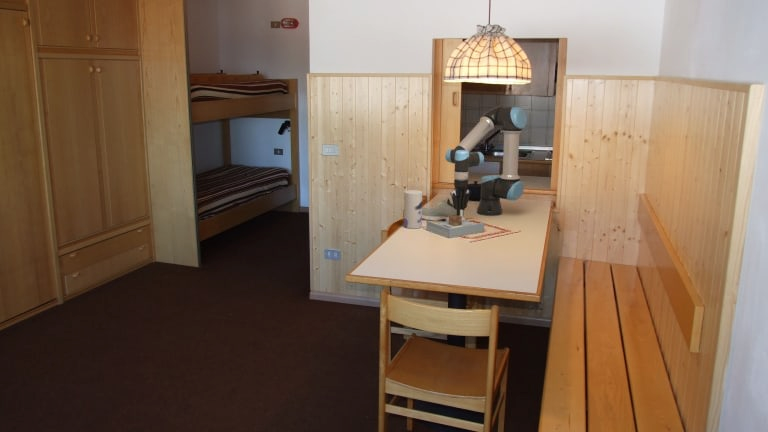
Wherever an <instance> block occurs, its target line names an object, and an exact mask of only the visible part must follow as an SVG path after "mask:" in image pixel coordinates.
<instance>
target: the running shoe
mask: <svg viewBox="0 0 768 432" xmlns="http://www.w3.org/2000/svg"><path fill="white" fill-rule="evenodd" d="M450 215H457V210H456V209H454V207H453V202H451V199H450V198H448V197H447V198H445V199H444V200H443V201H442V200H441V201H440V202H439V203H438V204H435V205H433V206H432V207H422V220H424V221H425V220H426V221H430V222H439V221H443V222H446V221H449V216H450ZM464 216H465V212H463V218H462V220H465V221H466V219H465V217H464Z"/></svg>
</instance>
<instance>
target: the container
mask: <svg viewBox="0 0 768 432" xmlns="http://www.w3.org/2000/svg"><path fill="white" fill-rule="evenodd" d="M403 195H404V197H403V201H404V203H403V227H404V228H406V229H420V228H422V227H423V224H422V223H423V219H422V208H423V191H421V190H418V189H407V190H404V194H403Z"/></svg>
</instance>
